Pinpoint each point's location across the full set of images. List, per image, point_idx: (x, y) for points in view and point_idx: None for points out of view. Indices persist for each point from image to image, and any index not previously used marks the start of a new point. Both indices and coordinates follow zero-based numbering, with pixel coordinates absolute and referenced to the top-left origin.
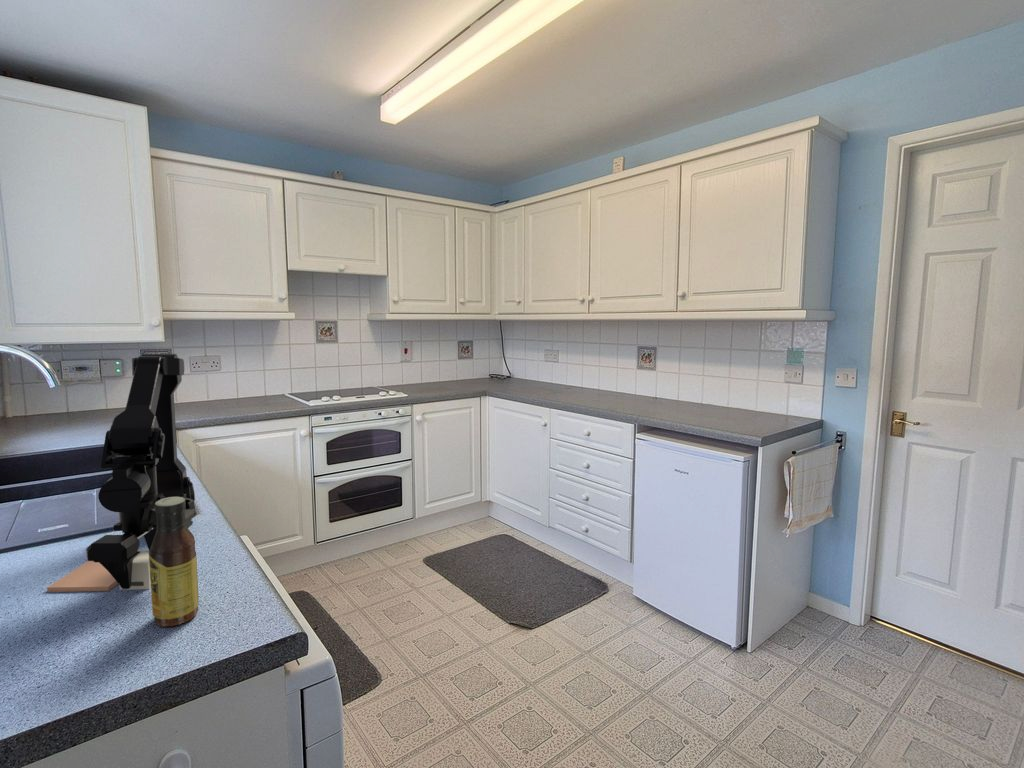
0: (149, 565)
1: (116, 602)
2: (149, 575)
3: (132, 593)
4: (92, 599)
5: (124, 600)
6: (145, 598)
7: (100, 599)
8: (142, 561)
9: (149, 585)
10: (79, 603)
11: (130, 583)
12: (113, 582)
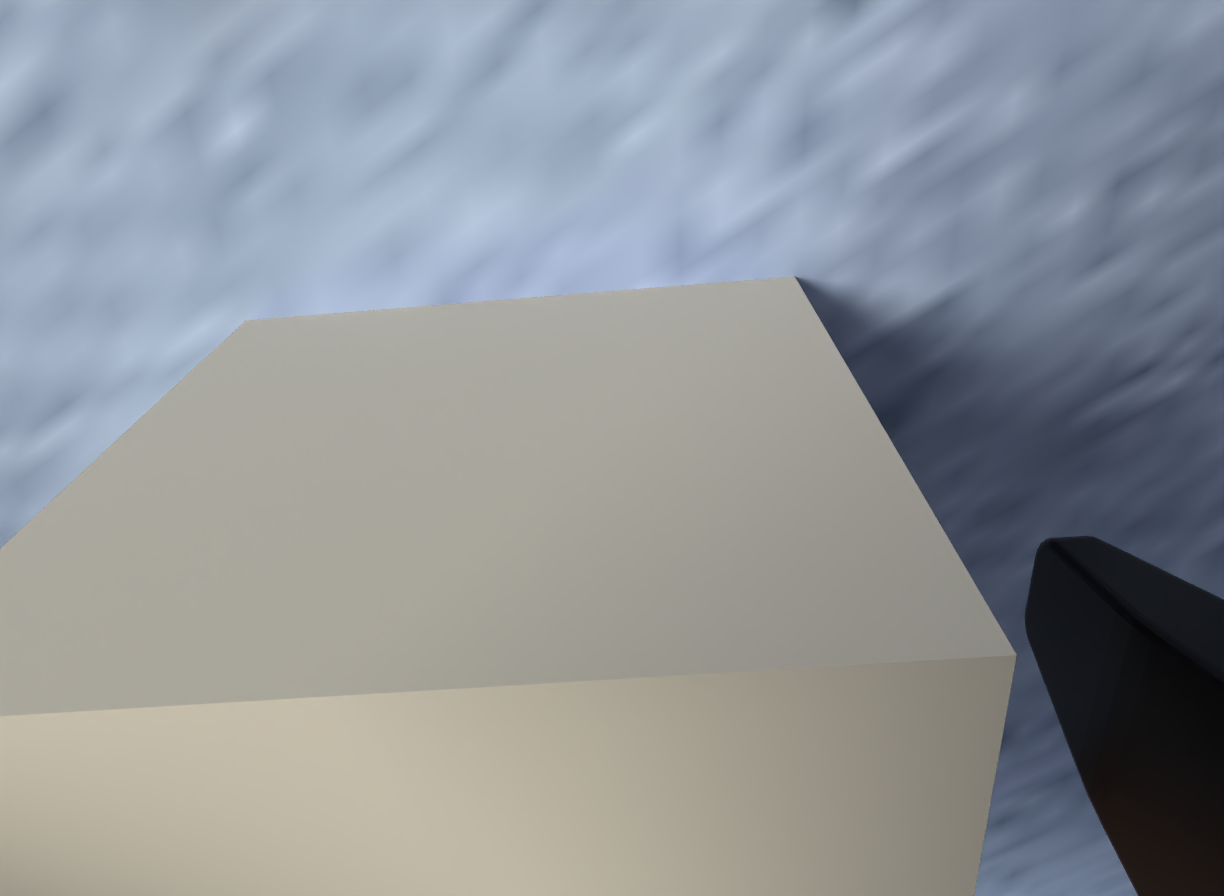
0: (899, 560)
1: (1209, 514)
2: (839, 395)
3: (933, 464)
4: (1035, 817)
5: (1168, 441)
6: (1184, 115)
7: (1055, 744)
8: (851, 869)
9: (805, 303)
10: (1113, 874)
11: (1130, 576)
12: None
